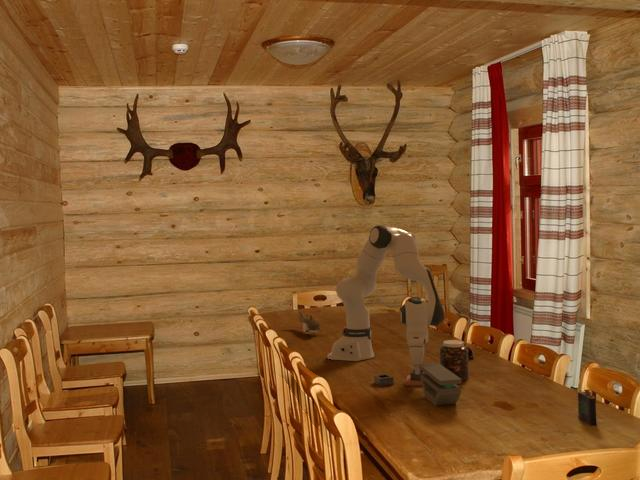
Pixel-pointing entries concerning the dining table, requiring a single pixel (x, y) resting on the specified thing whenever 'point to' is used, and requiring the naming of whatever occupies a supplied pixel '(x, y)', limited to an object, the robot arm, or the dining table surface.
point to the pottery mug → (469, 351)
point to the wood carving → (308, 323)
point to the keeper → (412, 381)
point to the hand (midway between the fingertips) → (418, 371)
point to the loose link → (383, 379)
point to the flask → (587, 407)
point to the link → (415, 375)
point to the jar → (455, 358)
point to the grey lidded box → (440, 384)
